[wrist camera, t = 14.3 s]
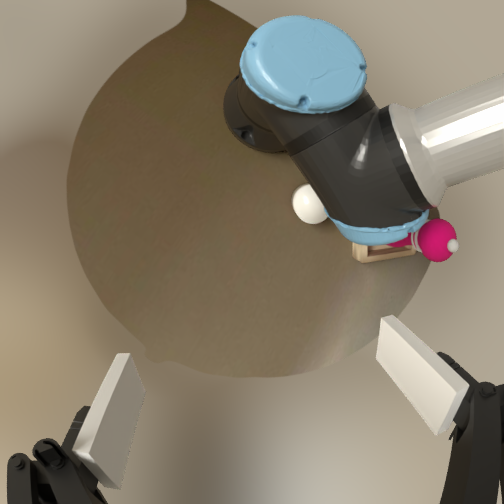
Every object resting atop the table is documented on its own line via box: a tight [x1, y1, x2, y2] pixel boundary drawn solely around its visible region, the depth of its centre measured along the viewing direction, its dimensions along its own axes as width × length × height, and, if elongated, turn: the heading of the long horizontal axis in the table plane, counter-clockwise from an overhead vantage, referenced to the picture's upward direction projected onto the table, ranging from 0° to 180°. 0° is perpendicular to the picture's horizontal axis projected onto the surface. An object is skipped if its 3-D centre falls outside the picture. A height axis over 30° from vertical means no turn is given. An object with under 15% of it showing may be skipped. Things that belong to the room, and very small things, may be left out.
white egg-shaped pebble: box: [291, 183, 328, 224], centre depth 44 cm, size 6×6×4 cm
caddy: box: [353, 242, 416, 263], centre depth 47 cm, size 12×12×4 cm
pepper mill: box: [386, 218, 459, 262], centre depth 38 cm, size 7×7×20 cm
